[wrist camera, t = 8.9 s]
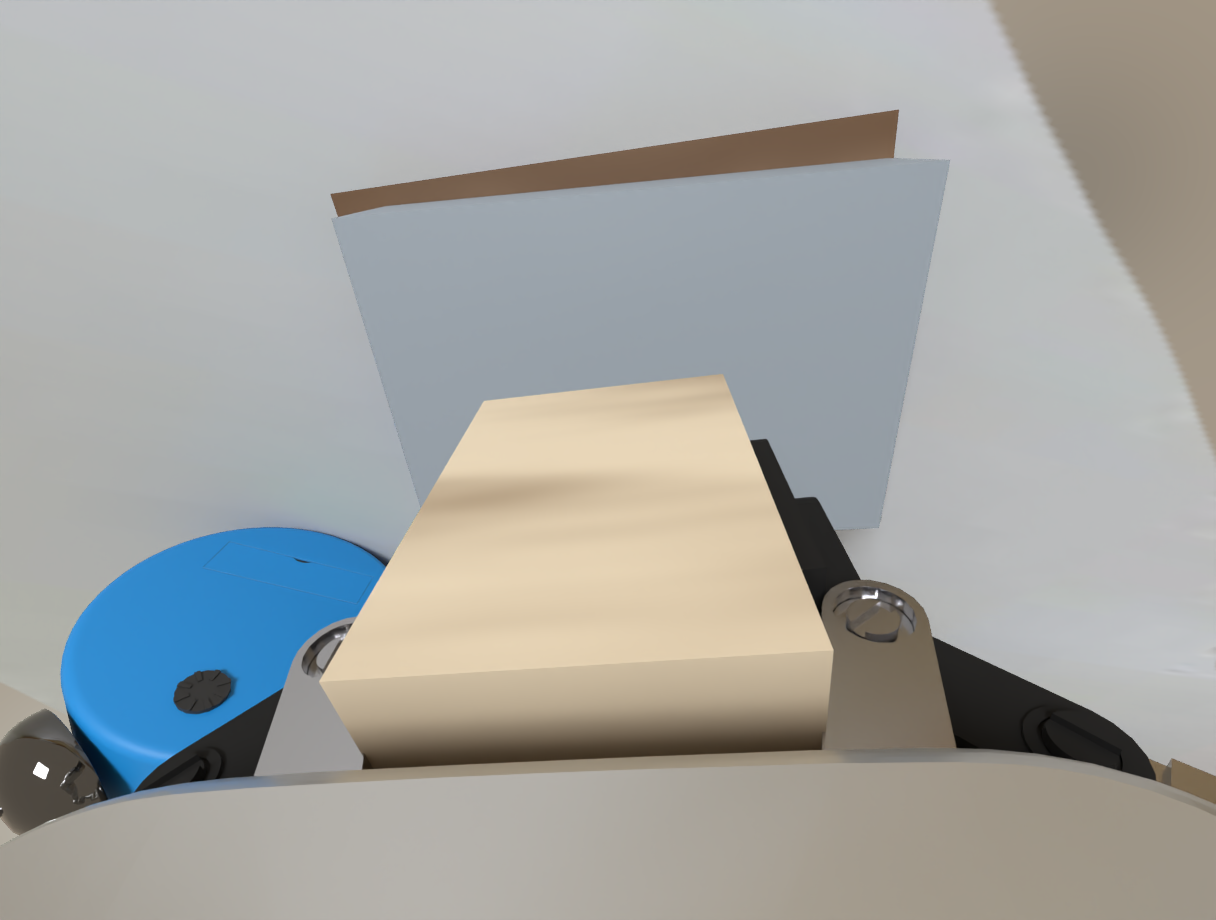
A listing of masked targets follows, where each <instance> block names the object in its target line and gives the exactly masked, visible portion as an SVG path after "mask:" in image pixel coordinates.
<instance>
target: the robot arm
mask: <svg viewBox="0 0 1216 920" xmlns="http://www.w3.org/2000/svg"><path fill="white" fill-rule="evenodd" d="M750 443H751V445H752V448H753V450H754V453H755V455H756V458H757V460H758V463H759V465H760V468H761V470H762V473H763V475H764V478H765V480H766V483H767V485H768V488H769V490H770V493H771V495H772V498H773V500H774V503H775V505H776V508H777V510H778V513H779V515H780V518H781V520H782V523H783V525H784V528H785V530H786V532H787V535H788V537H789V540H790V542H791V545H792V547H793V550H794V552H795V555H796V557H797V560H798V562H799V565H800V567H801V570H802V572H803V575H804V577H805V580H806V582H807V585H808V587H809V590H810V592H811V595H812V597H813V600H814V602H815V605H816V607H817V610H818V612H819V615H820V617H821V620H822V622H823V625H824V627H825V630H826V632H827V635H828V637H829V640H830V642H831V645H832V647H833V650H834V652H833V663H832V673H831V684H830V694H829V705H828V715H827V726H826V732H822V740H821V750H806V751H780V752H754V753H728V754H702V755H675V756H650V757H626V758H603V759H580V760H556V761H534V762H512V763H489V764H467V765H446V766H426V767H406V768H386V769H373V767H372V765H371V764H370V762H369V760H368V758H367V757H366V755H365V753H361V752H360V751H359V749H358V747H357V745H356V744H355V742H354V740H353V739H352V737H351V735H350V734H349V732H348V730H347V729H346V727H345V725H344V724H343V722H342V720H341V718H340V717H339V715H338V713H337V712H336V710H335V708H334V707H333V705H332V703H331V702H330V700H329V698H328V697H327V695H326V693H325V691H324V690H323V688H322V686H321V685H320V683H319V681H320V679H321V677H322V676H323V674H324V672H325V671H326V669H327V667H328V665H329V664H330V662H331V660H332V659H333V657H334V655H335V654H336V652H337V650H338V648H339V647H340V645H341V643H342V642H343V640H344V638H345V637H346V635H347V633H348V631H349V630H350V628H351V626H352V625H353V623H354V621H355V620H356V618H357V617H351V618H346V619H343V620H340V621H337V622H335V623H332V624H330V625H328V626H327V627H325V628H323V629H321V630H320V631H318V632H317V633H316V634H314V635H313V636H312V637H311V638H309V639H308V640H307V641H306V642H305V643H304V645H303V646H302V647H301V648H300V649H299V650H298V652H297V654H296V656H295V658H294V660H293V661H292V664H291V667H290V670H289V673H288V676H287V679H286V682H285V685H284V688H282V689H280V690H279V691H277V692H276V693H274V694H272V695H271V696H269V697H267V698H266V699H264V700H263V701H261V702H259V703H258V704H256V705H254V706H253V707H251V708H250V709H248V710H246V711H245V712H243V713H241V714H240V715H238V716H237V717H235V718H233V719H232V720H230V721H228V722H227V723H225V724H224V725H222V726H220V727H219V728H217V729H215V730H214V731H212V732H211V733H209V734H207V735H206V736H204V737H202V738H201V739H199V740H198V741H196V742H194V743H193V744H191V745H189V746H188V747H186V748H185V749H183V750H181V751H180V752H178V753H176V754H175V755H173V756H172V757H171V758H169V759H168V760H166V761H165V762H164V763H162V764H161V765H159V766H158V767H157V768H156V769H155V770H154V771H153V772H152V773H151V774H149V775H148V776H147V777H146V778H145V779H144V780H143V781H142V782H141V784H140V785H139V786H138V787H137V789H136V790H135V791H134V793H131V794H128V795H124V796H121V797H117V798H113V799H110V800H106V801H103V802H99V803H96V804H92V805H89V806H87V807H84V808H82V809H79V810H76V811H74V812H71V813H69V814H66V815H64V816H61V817H58V818H56V819H53V820H51V821H48V822H46V823H44V824H42V825H40V826H38V827H36V828H34V829H31V830H29V831H27V832H25V833H23V834H21V835H19V836H17V837H16V838H14V839H12V840H10V841H8V842H6V843H5V844H3V845H1V846H0V920H1216V776H1214V775H1211V774H1209V773H1207V772H1204V771H1202V770H1199V769H1197V768H1194V767H1192V766H1190V765H1187V764H1185V763H1182V762H1180V761H1177V760H1175V759H1173V758H1172V759H1171V760H1170V762H1169V763H1168V765H1167V766H1165V765H1163V764H1160V763H1158V762H1156V761H1153V760H1151V759H1148V757H1147V755H1146V754H1145V753H1144V752H1143V751H1142V749H1141V748H1140V747H1139V746H1138V745H1137V744H1136V742H1135V741H1134V740H1133V739H1132V738H1131V737H1130V736H1128V735H1127V734H1126V733H1125V732H1123V731H1122V730H1121V729H1120V728H1118V727H1117V726H1116V725H1115V724H1114V723H1112V722H1110V721H1108V720H1107V719H1105V718H1103V717H1101V716H1100V715H1098V714H1096V713H1094V712H1093V711H1091V710H1089V709H1086V708H1084V707H1082V706H1080V705H1078V704H1076V703H1074V702H1071V701H1069V700H1067V699H1065V698H1063V697H1061V696H1059V695H1056V694H1054V693H1052V692H1050V691H1048V690H1046V689H1044V688H1041V687H1039V686H1037V685H1035V684H1033V683H1031V682H1029V681H1026V680H1024V679H1022V678H1020V677H1018V676H1016V675H1014V674H1011V673H1009V672H1007V671H1005V670H1003V669H1001V668H998V667H996V666H994V665H992V664H990V663H988V662H986V661H983V660H981V659H979V658H977V657H975V656H973V655H971V654H968V653H966V652H964V651H962V650H960V649H958V648H956V647H953V646H951V645H949V644H947V643H945V642H943V641H941V640H938V639H936V638H934V637H932V633H931V629H930V624H929V620H928V617H927V615H926V613H925V611H924V608H923V607H922V606H921V605H920V604H919V603H918V602H917V601H916V600H915V599H914V598H913V597H912V596H910V595H909V594H907V593H906V592H904V591H903V590H901V589H899V588H896V587H894V586H891V585H889V584H886V583H882V582H877V581H872V580H861V579H860V578H859V576H858V574H857V572H856V570H855V568H854V566H853V564H852V562H851V561H850V559H849V557H848V555H847V553H846V551H845V549H844V547H843V545H842V543H841V542H840V540H839V538H838V536H837V534H836V532H835V530H834V528H833V526H832V525H831V523H830V521H829V519H828V517H827V515H826V513H825V511H824V509H823V508H822V506H821V504H820V502H819V501H818V499H817V498H816V497H803V498H794V495H793V493H792V491H791V489H790V487H789V485H788V482H787V480H786V478H785V476H784V474H783V472H782V470H781V467H780V465H779V463H778V461H777V459H776V457H775V454H774V452H773V450H772V448H771V446H770V444H769V441H768V440H767V439H758V440H750Z"/></svg>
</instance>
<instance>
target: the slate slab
mask: <svg viewBox="0 0 1216 920" xmlns="http://www.w3.org/2000/svg"><path fill="white" fill-rule="evenodd" d="M949 164H950V160H931V159H900V158H884V159H873V160H863V161H852V162H842V163H831V164H821V165H810V166H800V167H790V168H779V169H769V170H758V171H748V172H737V173H727V174H716V175H706V176H695V177H685V178H674V179H664V180H653V181H643V182H632V183H622V184H611V185H601V186H591V187H580V188H570V189H559V190H549V191H538V192H528V193H517V194H507V195H496V196H486V197H475V198H465V199H454V200H444V201H433V202H423V203H412V204H402V205H392V206H384V207H380V208H375V209H371V210H366V211H362V212H358V213H353V214H349V215H345V216H340V217H336V218H332V222H333V225H334V228H335V232H336V235H337V238H338V241H339V245H340V248H341V251H342V254H343V258H344V261H345V264H346V267H347V271H348V274H349V277H350V280H351V284H352V287H353V290H354V293H355V296H356V300H357V303H358V306H359V309H360V313H361V316H362V319H363V322H364V326H365V329H366V332H367V335H368V339H369V342H370V345H371V348H372V351H373V355H374V358H375V361H376V364H377V368H378V371H379V374H380V377H381V381H382V384H383V387H384V390H385V394H386V397H387V400H388V403H389V407H390V410H391V413H392V416H393V419H394V423H395V426H396V429H397V432H398V436H399V439H400V442H401V445H402V449H403V452H404V455H405V458H406V462H407V465H408V468H409V471H410V474H411V478H412V481H413V484H414V487H415V491H416V494H417V497H418V500H419V504H420V507H422V505H423V504H424V502H425V500H426V499H427V497H428V495H429V493H430V492H431V490H432V488H433V487H434V485H435V483H436V482H437V480H438V478H439V476H440V475H441V473H442V471H443V470H444V468H445V466H446V465H447V463H448V461H449V459H450V458H451V456H452V454H453V453H454V451H455V449H456V447H457V446H458V444H459V442H460V441H461V439H462V437H463V436H464V434H465V432H466V430H467V429H468V427H469V425H470V424H471V422H472V420H473V419H474V417H475V415H476V413H477V412H478V410H479V408H480V407H481V405H482V403H483V402H484V401H487V400H496V399H505V398H514V397H523V396H532V395H540V394H549V393H558V392H567V391H576V390H585V389H594V388H602V387H611V386H620V385H629V384H638V383H647V382H655V381H664V380H673V379H682V378H691V377H700V376H708V375H717V374H723V375H724V378H725V380H726V383H727V385H728V388H729V390H730V393H731V395H732V398H733V400H734V403H735V405H736V408H737V410H738V413H739V415H740V418H741V420H742V423H743V425H744V428H745V430H746V433H747V435H748V438H749V440H758V439H767V440H768V441H769V444H770V446H771V448H772V450H773V452H774V454H775V457H776V459H777V461H778V463H779V465H780V467H781V470H782V472H783V474H784V476H785V478H786V480H787V482H788V485H789V487H790V489H791V491H792V493H793V495H794V498H803V497H816V498H817V499H818V501H819V502H820V504H821V506H822V508H823V509H824V511H825V513H826V515H827V517H828V519H829V521H830V523H831V525H832V526H833V528H834V530H845V529H866V528H879V525H880V520H881V514H882V509H883V504H884V499H885V494H886V489H887V484H888V478H889V473H890V468H891V463H892V458H893V453H894V447H895V442H896V437H897V432H898V427H899V422H900V416H901V411H902V406H903V401H904V396H905V391H906V386H907V380H908V375H909V370H910V365H911V360H912V355H913V349H914V344H915V339H916V334H917V329H918V324H919V319H920V313H921V308H922V303H923V298H924V293H925V288H926V282H927V277H928V272H929V267H930V262H931V257H932V251H933V246H934V241H935V236H936V231H937V226H938V221H939V215H940V210H941V205H942V200H943V195H944V190H945V184H946V179H947V174H948V169H949Z"/></svg>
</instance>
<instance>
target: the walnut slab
mask: <svg viewBox="0 0 1216 920" xmlns="http://www.w3.org/2000/svg"><path fill="white" fill-rule="evenodd" d="M898 113H899V110H894V111H887V112H880V113H873V114H867V115H860V116H853V117H846V118H840V119H833V120H826V121H819V122H813V123H806V124H799V125H793V126H786V127H779V128H772V129H766V130H759V131H752V132H745V133H739V134H732V135H725V136H718V137H712V138H705V139H698V140H692V141H685V142H678V143H671V144H665V145H658V146H651V147H644V148H638V149H631V150H624V151H617V152H611V153H604V154H597V155H590V156H584V157H577V158H570V159H564V160H557V161H550V162H543V163H537V164H530V165H523V166H516V167H510V168H503V169H496V170H489V171H483V172H476V173H469V174H463V175H456V176H449V177H442V178H436V179H429V180H422V181H415V182H409V183H402V184H395V185H388V186H382V187H375V188H368V189H362V190H355V191H348V192H341V193H335V194H331V197H332V200H333V203H334V206H335V209H336V212H337V215H338V217H340V216H345V215H349V214H353V213H358V212H362V211H366V210H371V209H375V208H380V207H384V206H392V205H402V204H412V203H423V202H433V201H444V200H454V199H465V198H475V197H486V196H496V195H507V194H517V193H528V192H538V191H549V190H559V189H570V188H580V187H591V186H601V185H611V184H622V183H632V182H643V181H653V180H664V179H674V178H685V177H695V176H706V175H716V174H727V173H737V172H748V171H758V170H769V169H779V168H790V167H800V166H810V165H821V164H831V163H842V162H852V161H863V160H873V159H884V158H894V149H895V140H896V131H897V122H898Z"/></svg>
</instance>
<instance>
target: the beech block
mask: <svg viewBox="0 0 1216 920" xmlns="http://www.w3.org/2000/svg"><path fill="white" fill-rule="evenodd" d="M833 652H834V650H833V647H832V645H831V642H830V640H829V637H828V635H827V632H826V630H825V627H824V625H823V622H822V620H821V617H820V615H819V612H818V610H817V607H816V605H815V602H814V600H813V597H812V595H811V592H810V590H809V587H808V585H807V582H806V580H805V577H804V575H803V572H802V570H801V567H800V565H799V562H798V560H797V557H796V555H795V552H794V550H793V547H792V545H791V542H790V540H789V537H788V535H787V532H786V530H785V528H784V525H783V523H782V520H781V518H780V515H779V513H778V510H777V508H776V505H775V503H774V500H773V498H772V495H771V493H770V490H769V488H768V485H767V483H766V480H765V478H764V475H763V473H762V470H761V468H760V465H759V463H758V460H757V458H756V455H755V453H754V450H753V448H752V445H751V443H750V440H749V438H748V435H747V433H746V430H745V428H744V425H743V423H742V420H741V418H740V415H739V413H738V410H737V408H736V405H735V403H734V400H733V398H732V395H731V393H730V390H729V388H728V385H727V383H726V380H725V378H724V375H723V374H717V375H708V376H700V377H691V378H682V379H673V380H664V381H655V382H647V383H638V384H629V385H620V386H611V387H602V388H594V389H585V390H576V391H567V392H558V393H549V394H540V395H532V396H523V397H514V398H505V399H496V400H487V401H484V402H483V403H482V405H481V407H480V408H479V410H478V412H477V413H476V415H475V417H474V419H473V420H472V422H471V424H470V425H469V427H468V429H467V430H466V432H465V434H464V436H463V437H462V439H461V441H460V442H459V444H458V446H457V447H456V449H455V451H454V453H453V454H452V456H451V458H450V459H449V461H448V463H447V465H446V466H445V468H444V470H443V471H442V473H441V475H440V476H439V478H438V480H437V482H436V483H435V485H434V487H433V488H432V490H431V492H430V493H429V495H428V497H427V499H426V500H425V502H424V504H423V505H422V507H421V509H420V511H419V512H418V514H417V516H416V517H415V519H414V521H413V522H412V524H411V526H410V528H409V529H408V531H407V533H406V534H405V536H404V538H403V539H402V541H401V543H400V545H399V546H398V548H397V550H396V551H395V553H394V555H393V556H392V558H391V560H390V562H389V563H388V565H387V567H386V568H385V570H384V572H383V574H382V575H381V577H380V579H379V580H378V582H377V584H376V585H375V587H374V589H373V591H372V592H371V594H370V596H369V597H368V599H367V601H366V602H365V604H364V606H363V608H362V609H361V611H360V613H359V614H358V616H357V618H356V620H355V621H354V623H353V625H352V626H351V628H350V630H349V631H348V633H347V635H346V637H345V638H344V640H343V642H342V643H341V645H340V647H339V648H338V650H337V652H336V654H335V655H334V657H333V659H332V660H331V662H330V664H329V665H328V667H327V669H326V671H325V672H324V674H323V676H322V677H321V679H320V681H319V683H320V685H321V686H322V688H323V690H324V691H325V693H326V695H327V697H328V698H329V700H330V702H331V703H332V705H333V707H334V708H335V710H336V712H337V713H338V715H339V717H340V718H341V720H342V722H343V724H344V725H345V727H346V729H347V730H348V732H349V734H350V735H351V737H352V739H353V740H354V742H355V744H356V745H357V747H358V749H359V751H360V752H361V753H365V755H366V757H367V758H368V760H369V762H370V764H371V765H372V767H373V769H386V768H406V767H426V766H446V765H467V764H489V763H512V762H534V761H556V760H580V759H603V758H626V757H650V756H675V755H702V754H728V753H754V752H780V751H806V750H821V740H822V732H826V726H827V715H828V705H829V694H830V684H831V673H832V663H833Z"/></svg>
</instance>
